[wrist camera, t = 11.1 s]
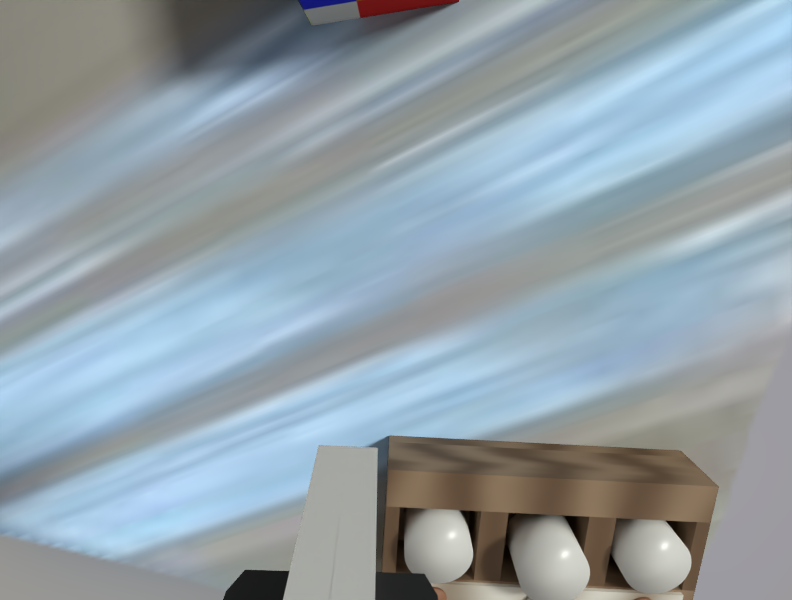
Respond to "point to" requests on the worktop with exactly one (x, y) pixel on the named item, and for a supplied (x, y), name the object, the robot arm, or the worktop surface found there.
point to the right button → (650, 555)
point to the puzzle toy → (359, 8)
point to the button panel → (545, 505)
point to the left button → (437, 543)
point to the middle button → (546, 557)
